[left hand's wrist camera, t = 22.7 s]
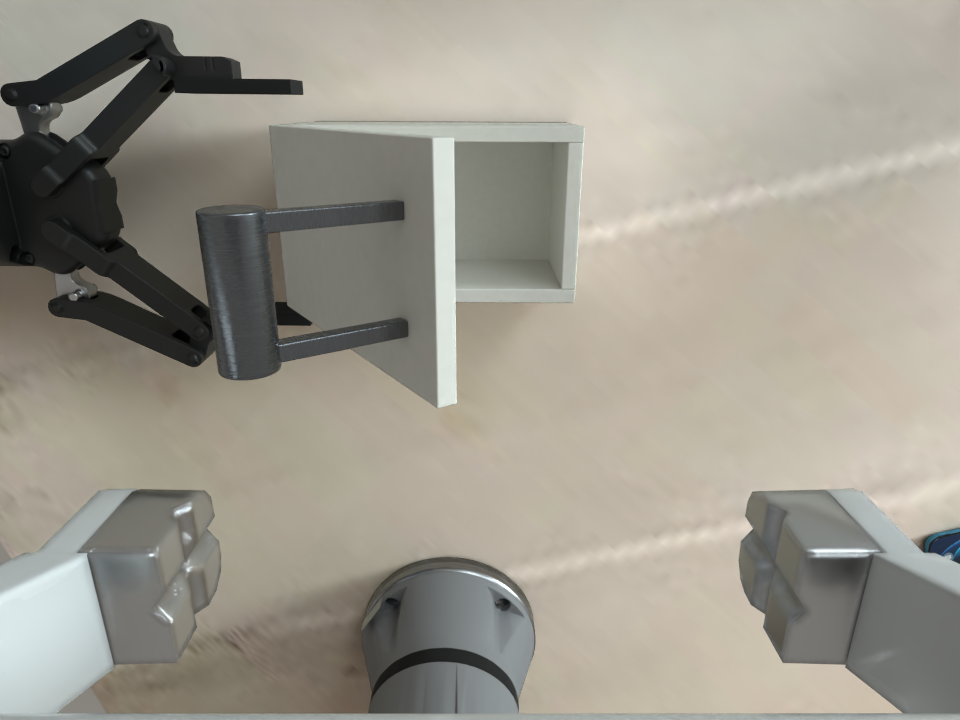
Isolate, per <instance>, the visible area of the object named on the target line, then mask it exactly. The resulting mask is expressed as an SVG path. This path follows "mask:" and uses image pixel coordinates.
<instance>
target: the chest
mask: <svg viewBox="0 0 960 720" xmlns="http://www.w3.org/2000/svg"><path fill="white" fill-rule="evenodd" d="M284 125H291V126H305V127H319V128H333V129H347V130H361V131H375V132H389V133H403V134H417V135H431V136H445V137H453V138H454V183H455V296H456V303H574V302H575V287H576V270H577V252H578V234H579V216H580V198H581V181H582V163H583V145H584V144H583V142H584V128H585V127H584V126H580V125H575V124H570V123H566V122H390V121H315V122H306V123H295V124H284Z"/></svg>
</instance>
